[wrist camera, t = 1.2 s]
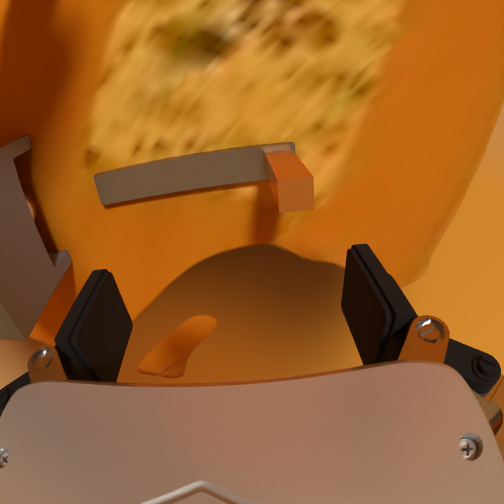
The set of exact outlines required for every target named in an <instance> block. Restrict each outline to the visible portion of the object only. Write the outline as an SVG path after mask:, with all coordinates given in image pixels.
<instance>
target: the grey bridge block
mask: <svg viewBox="0 0 504 504" xmlns="http://www.w3.org/2000/svg"><path fill="white" fill-rule="evenodd" d="M30 149H32V147H31V143H30V139H29V135H26V136H24V137H22V138H20V139H18V140H16V141H14V142H11V143H9V144H7V145H5V146H3V147H1V148H0V339H4V340H21V341H27V339H28V337H29V336H30V334H31V332H32V330H33V328H34V326H35V324H36V322H37V320H38V318H39V316H40V315H41V313H42V311H43V309H44V307H45V306H46V304H47V302H48V300H49V299H50V297H51V295H52V294H53V292H54V290H55V289H56V287H57V285H58V284H59V282H60V280H61V279H62V277H63V275H64V274H65V272H66V271H67V269H68V268H69V266H70V264H71V263H72V260H71V257H70V255H69V253H68V251H61V252H55V253H50V254H48V253H47V251H46V248H45V246H44V244H43V241H42V239H41V237H40V234H39V232H38V230H37V227H36V225H35V222H34V220H33V217H32V215H31V212H30V209H29V207H28V204H27V201H26V198H25V195H24V193H23V190H22V187H21V184H20V181H19V177H18V174H17V171H16V168H15V164H14V161H13V158H15V157H17V156H19V155H20V154H22V153H24V152H26V151H28V150H30Z"/></svg>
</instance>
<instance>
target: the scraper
mask: <svg viewBox="0 0 504 504" xmlns="http://www.w3.org/2000/svg"><path fill="white" fill-rule="evenodd" d="M94 180H95V183H96V187H97V190H98V193H99V197H100V200H101V203H102V206H103V205H108V204H113V203H118V202H123V201H128V200H133V199H139V198H144V197H150V196H155V195H161V194H167V193H173V192H179V191H185V190H192V189H199V188H205V187H212V186H220V185H227V184H235V183H243V182H251V181H260V180H268V182H269V185H270V188H271V191H272V193H273V196H274V199H275V202H276V205H277V208H278V210H279V213H285V212H294V211H303V210H313V209H314V185H313V176H312V174H311V173H310V172H309V170H308V169H307V168H306V167H305V165H304V164H303V163H302V162H301V161H300V159H299V158H298V157H297V156H296V154H295V144H294V143H293V142H285V143H273V144H263V145H253V146H245V147H236V148H228V149H221V150H214V151H207V152H201V153H194V154H188V155H182V156H177V157H171V158H166V159H160V160H155V161H150V162H145V163H140V164H136V165H131V166H127V167H122V168H118V169H114V170H109V171H105V172H101V173H97V174H96V175H95V176H94Z"/></svg>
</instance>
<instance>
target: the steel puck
mask: <svg viewBox="0 0 504 504" xmlns="http://www.w3.org/2000/svg"><path fill="white" fill-rule="evenodd" d="M24 195H25V198H26V201H27V204H28V207H29V209H30V212H31V215H32V217H33V220H34V221H35V220H36V218H37V214H38V211H37V206H36V203H35V201H34V200H33V199H32V197H31V196H29V195H28V194H26V193H24Z"/></svg>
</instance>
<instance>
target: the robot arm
mask: <svg viewBox="0 0 504 504" xmlns="http://www.w3.org/2000/svg"><path fill="white" fill-rule="evenodd" d="M341 307H342V311H343V314H344V316H345V318H346V321H347V324H348V326H349V329H350V331H351V334H352V336H353V339H354V341H355V344H356V347H357V349H358V352H359V354H360V357H361V360H362V362H363V366H358V367H352V368H347V369H340V370H333V371H327V372H320V373H313V374H306V375H299V376H291V377H282V378H272V379H262V380H250V381H237V382H222V383H197V384H136V383H135V384H134V383H116V381H117V377H118V374H119V370H120V367H121V363H122V360H123V357H124V354H125V350H126V347H127V344H128V341H129V337H130V334H131V331H132V326H133V325H132V320H131V318H130V315H129V313H128V311H127V309H126V306H125V304H124V302H123V299H122V297H121V294H120V292H119V289H118V287H117V284H116V282H115V279H114V277H113V275H112V273H111V272H108V270H106V269H101V270H93V271H92V273H91V275H90V276H89V278H88V279H87V281H86V283H85V284H84V286H83V288H82V290H81V291H80V293H79V295H78V296H77V298H76V300H75V302H74V303H73V305H72V307H71V309H70V311H69V312H68V314H67V316H66V318H65V320H64V322H63V324H62V325H61V327H60V329H59V331H58V333H57V335H56V337H55V339H54V341H55V342H56V345H55V347H53V346H50V345H46V346H42V347H40V348H38V349H36V350H35V351H34V352H33V353H32V354H31V356H30V357H29V359H28V363H27V366H28V372H26V373H25V374H23V375H22V376H20V377H19V378H17V379H16V380H14V381H13V382H11V383H10V384H8V385H7V386H5V387H4V388H2V389H1V390H0V504H504V376H503V375H502V374H501V368H500V365H499V363H498V362H497V360H496V359H495V358H494V357H493V356H491V355H489V354H487V353H485V352H482V351H480V350H477V349H475V348H472V347H470V346H467V345H465V344H462V343H460V342H458V341H455V340H453V339H450V338H449V329H448V327H447V325H446V324H445V323H444V322H443V321H442V320H440V319H438V318H436V317H434V316H429V315H426V316H420V317H418V316H417V314H416V312H415V311H414V309H413V308H412V306H411V304H410V303H409V301H408V300H407V299H406V297H405V295H404V294H403V292H402V290H401V289H400V287H399V286H398V284H397V283H396V281H395V280H394V278H393V277H392V276H391V275H390V274H388V273H387V272H386V270H385V269H384V267H383V266H382V264H381V263H380V261H379V260H378V259H377V257H376V256H375V254H374V253H373V251H372V250H371V249H370V247H369V246H368V245H367V244H357V245H352V247H351V249H348V250H347V257H346V267H345V276H344V285H343V293H342V301H341Z"/></svg>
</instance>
